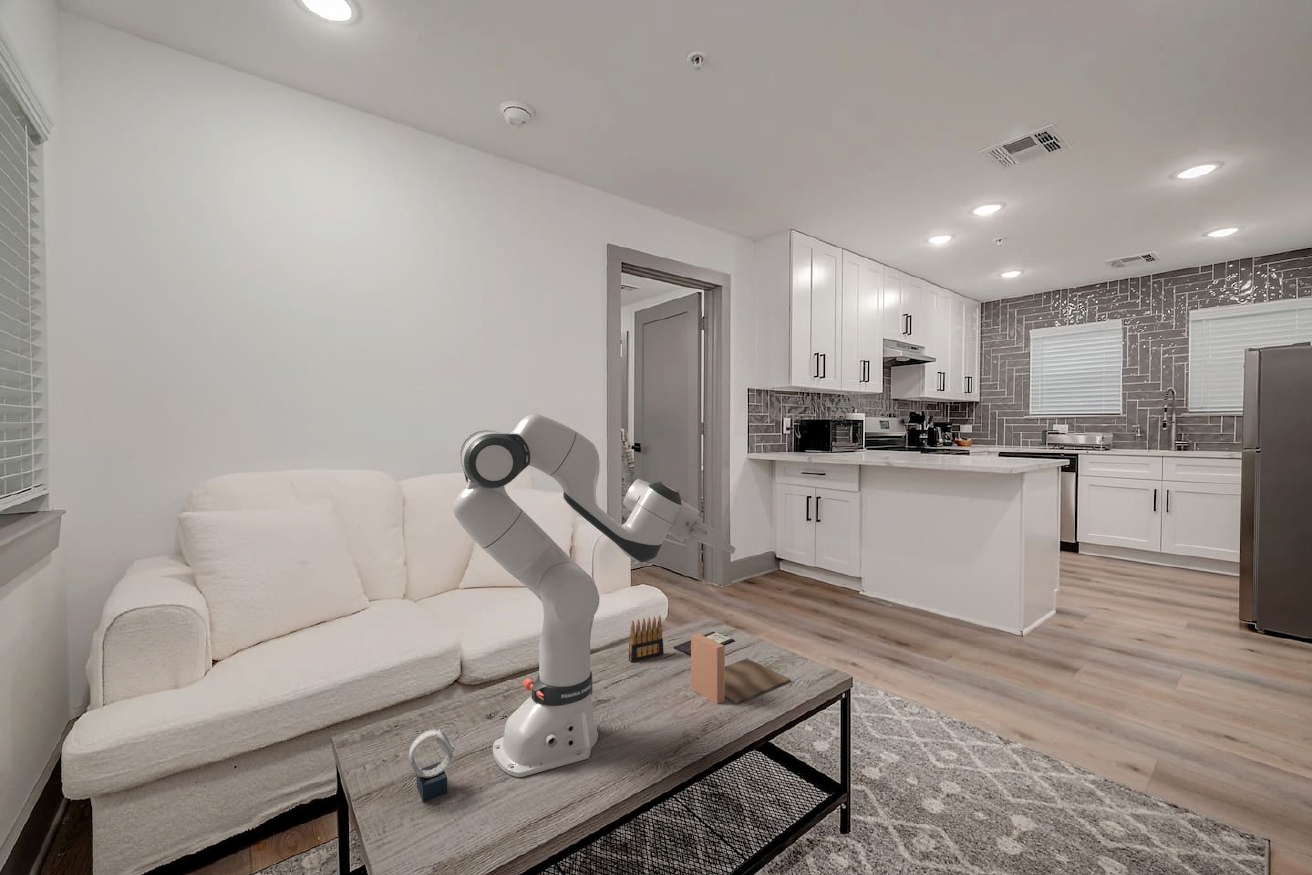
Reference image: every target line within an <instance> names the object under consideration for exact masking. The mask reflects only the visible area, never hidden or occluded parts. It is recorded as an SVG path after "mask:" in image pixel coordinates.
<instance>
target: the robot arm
mask: <svg viewBox="0 0 1312 875" xmlns="http://www.w3.org/2000/svg"><path fill="white" fill-rule="evenodd" d="M459 456H460V464H461V467H462V469H463V473H464V477H465V481H466V482H467V484H466V485H465V487H464V488H463V489H462V490H461V491H460V492H459V494H458V495H457V496H456V498H455V500H454V502H453V506H452V509H453V510H452V511H453V514H454V516H455V518H456V520H457V521H458V522H459V523H460V526H462V527H463V529H464V530H465V531H466V533H467V534H468V535H469V536H470V537H471V538H472V540H473V541H475V543H476V544H477V545H478V546H480V548H482V550H484V551H485V552H486V553H487V554H488V556H490V557H491V558H492V559H493V560H494V561H495V562H497V563H498V564H499V565H500V567H502V568H503V569H504V570H505V571H506V572H508V574H510V575H511V576H512V577H514V579H516V580H518V581H519V582H520V583H521V584H522V585H523V586H525V587H526V588H527V589H528V590H530V591H531V592H532V593H533V594H534V595H535V596H536V598H537V599H538V600H539V601H540V603H542V608H543V622H542V630H541V635H540V638H539V640H538V641H539V642H538V648H539V649H538V650H539V651H538V654H539V655H538V665H539V666H538V668H539V669H538V672H539V674H538V675H537V678H536V680H535V682H534V681H533V680H532V679H531V678H525V679H524V681H523V682H522V685H523V686H522V687H524V689H526V691H529V692H530V691H531V695H530V696H529V697H528V698H527V699H526V700H525V701H524V702H523V703H522V704H521V705H520V706H519V707H518V708H517V709H516V710H515V711H514V712H513V713H512V714H511V715H510V716H509V717H508V718H507V719H506V722H505V726H504V731H503V736H502V737H499V738H498V739H496V740H494V742H493V745H492V756H493V759H494V761H495V763H496V765H498V766H499V768H500V770H502V771H503V772H504V773H506V774H508V775H510V776H512V777H516V778H523V777H526V776H530V775H533V774H538V773H541V772H545V771H548V770H551V769H555V768H559V767H562V766H566V765H570V764H573V763H577V762H581V761H584V760H587V759H589V758H590V756H591V753H592V749H593V747H594V746H595V744H596V743H597V742H598V739H599V732H598V729H597V725H596V721H595V717H594V711H593V709H594V708H593V702H592V695H593V688H594V687H593V671H592V670H591V636H592V631H593V630H592V628H593V624H594V618H595V615H596V614H597V611H598V610H599V607H600V606H599V605H600V593H599V590H598V587H597V584H596V583H595V582H596V581H595V580H594V579H593V577H592V576H591V575H590V574H589V573H587V572H586V571H585V570H584V569H583V568H582V567H581V566H580V565H579V564H577V563H576V561H574V560H573V559H572V558H571V557H570V556H569V555H568V554H567V553H566V552H565V550H563V549H562V547H560V546H559V545H558V544H557V542H555V541H554V540H553V539H552V538H551V537H550V536H549V534H547V532H546V531H545V530H543V529H542V528H541V526H540V525H538V524H537V522H536V521H534V520H533V519H532V518H531V516H529V515H528V513H526V512H525V511H524V510H523V509H522V507H520V505H518V504H517V503H516V502H515V501H514V500H513V499H512V498H511V497H510V496H509V494H508V492H507V490H506V487H505V486H506V485H508V484H510V483H511V482H512V481H513V480H515V479H516V478H517V476H519V475H520V474H521V473H522V472H523V471H524V470H525V469H526V468H527V467H528V466H529V467H532V468H535V469H537V470H539V471H540V472H542V473H545V474H546V475H548V476H549V477H551V478H553V479H554V480H555V481H556V482H557V483H558V484H559V485H560V487H561V488H562V490H563V494H562V495H563V499H564V501H565V502H566V503H567V505H568V506H570V508H572V509H573V511H575V512H576V513H578V514H579V515H580V516H581V517H582V518H584V519H585V520H586V521H588V522H589V523H590V524H591V526H593V527H594V528H596V529H597V530H599V531H600V532H601V533H602V534H604V535H605V537H607V538H608V539H609V540H611V541H612V542H613V543H615V545H616V546H618V548H619V549H620V550H621V552H622V553H623V554H624V555H626V556H627V557H628V558H630V559H632V560H633V561H636V562H638V563H639V562H640V563H645V562H649V561H650V560H653V559H655V558H657V557H658V554H659V552H660V550H661V548H662V546H663V543H664V540H665V539H666V536H668V535H669V536H671V537H673V538H674V539H676V540H677V541H680V542H684V541H685V539H686V540H687V541H692V540H694V541H696V542H698V543H700V544H704V545H706V546H709V547H711V548H714V549H715V550H719V551H720V550H723V551H725V552H727V553H728V554H730V555H733V554H734V553H735V551H736V547H735V546H733V545H732V544H730V543H728V542H727V541H726V540H727V536H726V535H725V534H723V533H722V532H721V531H718V530H717V529H715V528H713V527H712V526H709V525H708V524H706V523H704V521H703V520H704V519H703V518H702V517H701V516H699V515H700V510H699V509H698V508H696V507H694V506H692V505H690V504H689V503H687V502H685V501H683V500H682V497H681V494H680V491H678V490H675V489H673V488H671V487H669V486H667V485H666V484H664V483H663V482H662V481H661V480H659V481H656V482H653V483H650V482H648V481H645V480H643V479H640V478H637V479H635V480H633V482H632V483H631V484H630V485H629V487H628V489H627V491H625V494H624V497H623V502H622V503H623V506H625V507H626V508H627V509H628V510H629V511H630V512H631V513H630V514H629V516H628V518H627V520H626V522H624V523H622V524H621V523H619V522H617V521H616V520H615V519H614V518H613V517H612V516H610V515H609V514H608V513H606V511H604V510H603V509H601V507H600V506H599V504H598V502H597V486H598V479H599V475H600V464H601V463H600V456H599V451H598V449H597V447H596V446H595V444H594V443H593V442H592V441H591V440H589V439H588V438H586V437H585V436H584V435H583V434H581V433H579V431H576V430H575V429H572V428H570V427H569V426H566V425H565V424H563V423H562V422H559V421H557V420H555V419H552V418H549V417H547V416H543V415H541V414H538V413H537V414H536V413H532V414H528V415H527V416H525V417H523V418H522V419H521V420H520V421H518V423H517V424H516V425H515V427H514V429H513V430H512V431H511V432H508V433H503V432H499V431H495V430H486V429H485V430H479V431H476V432H474V433H472V434H470V436H468V437H467V438H466V439H465V440H464V442H463V443H462V446H461V449H460V455H459Z"/></svg>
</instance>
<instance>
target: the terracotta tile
mask: <svg viewBox="0 0 1312 875" xmlns="http://www.w3.org/2000/svg"><path fill="white" fill-rule="evenodd" d="M703 635H704V634H703ZM703 635H702V634H701V633H699V632H698V633H694V634H690V640H691V656H690V688H691V689H692V690H693V691H695V692H697V693H698V694H700V695H701V696H703V697H705V698H707V700H709V701H712V702H713V703H714V704H716V705H719V704H722V703H723V702H725V699H726V698H725V666H726V663H725V661H726V659H725V658H726V657H725V654H726V653H725V650H726V649H725V648H726V645H722V644H720V643H718V642H716V641H713V640H711V639H709V638H707V637H705V636H703Z"/></svg>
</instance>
